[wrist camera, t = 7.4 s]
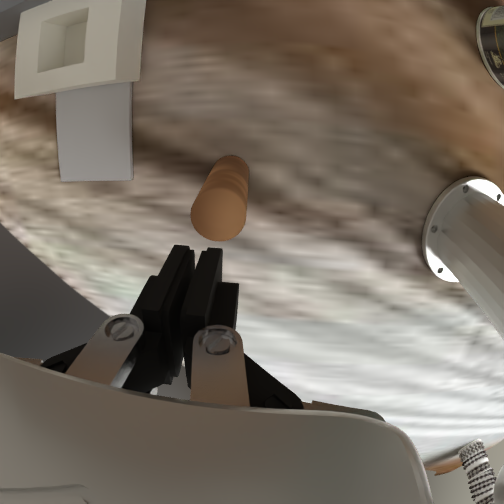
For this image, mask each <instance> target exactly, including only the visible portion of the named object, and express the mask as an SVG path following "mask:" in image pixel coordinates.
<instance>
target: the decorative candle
mask: <svg viewBox="0 0 504 504" xmlns="http://www.w3.org/2000/svg"><path fill="white" fill-rule="evenodd" d="M482 445H483V442H481V439H477V440H475V441H472V442H471V443H469V444H467V445H466V446H464V447H463V448H462V449H460V450H459V452H458V454H460V455H459V457H460V458H461V462H463V464H462V466H465V467H464V469H465V471H466V474H467V476H468V479H469V481H468V484H471V486H470V487H469V489H472V490H471V493H474V495H473V496H472V498H475V499H474V500H475V503H476V504H494V499H493V493H494V485H495V481H496V478H497V477H493V476H494V474H495V473H494V472H493V469H492V468H490V466H489V463H488V458H487V454H485V453H486V451H484V446H482ZM474 500H473V501H474Z"/></svg>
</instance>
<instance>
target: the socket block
mask: <svg viewBox="0 0 504 504" xmlns="http://www.w3.org/2000/svg"><path fill="white" fill-rule="evenodd" d="M145 7H146V0H52V1H49V2H47V3H44V4H41V5H39V6H36V7H34V8H31V9H29V10H27V11H24V12H22V13H21V15H20V22H19V29H18V38H17V48H16V62H15V92H14V99H20V98H26V97H33V96H40V95H47V94H52V93H57V92H62V91H67V90H73V89H79V88H85V87H92V86H99V85H106V84H114V83H123V82H134V81H140V67H141V50H142V37H143V26H144V16H145Z"/></svg>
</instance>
